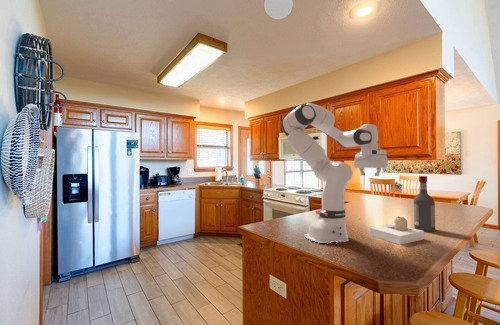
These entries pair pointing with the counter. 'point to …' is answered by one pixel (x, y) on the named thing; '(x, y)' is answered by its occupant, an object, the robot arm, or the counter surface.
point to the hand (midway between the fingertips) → (369, 175)
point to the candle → (400, 224)
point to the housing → (396, 234)
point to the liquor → (424, 208)
